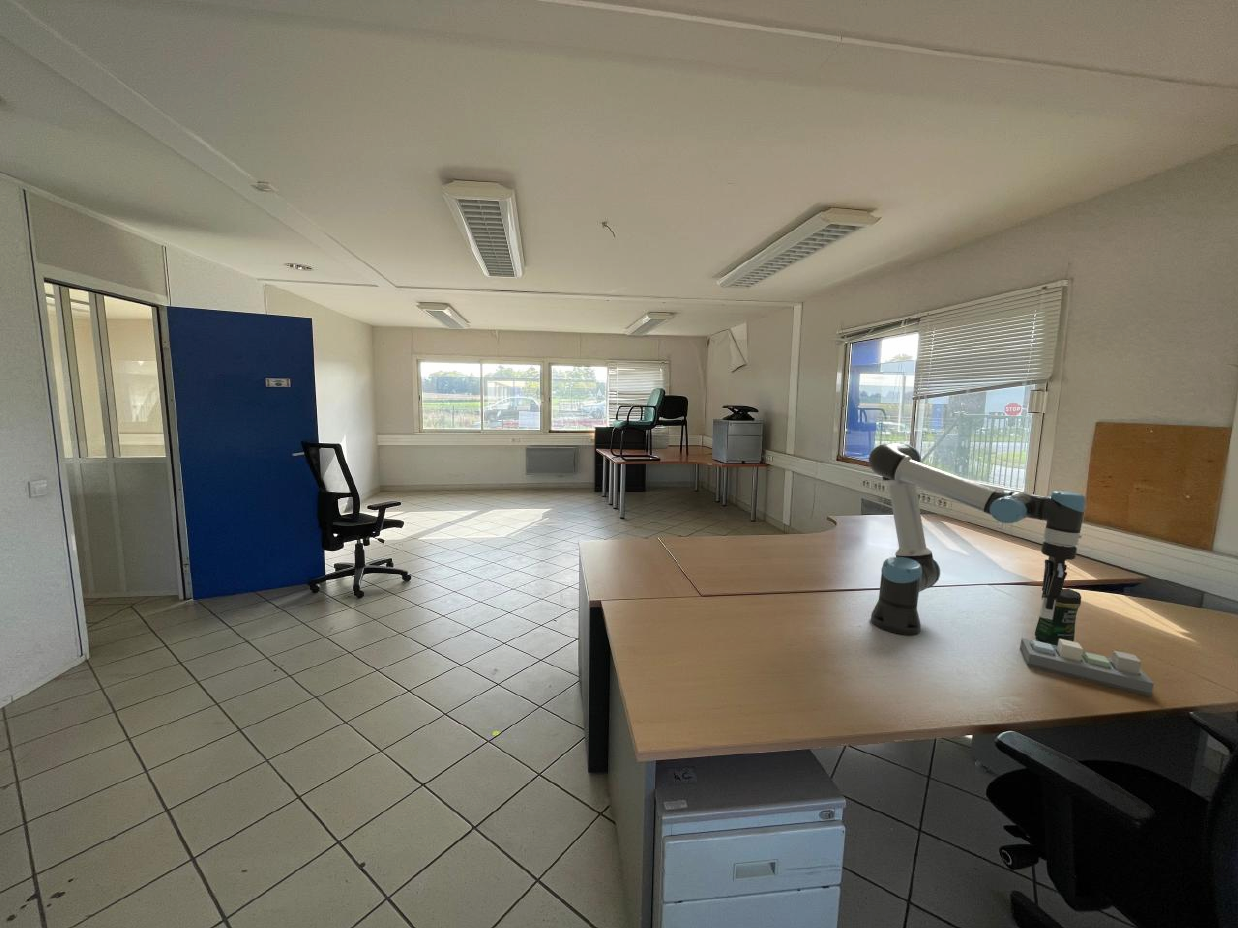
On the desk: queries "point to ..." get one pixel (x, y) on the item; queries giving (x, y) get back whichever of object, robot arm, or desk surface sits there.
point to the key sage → (1096, 659)
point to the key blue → (1042, 647)
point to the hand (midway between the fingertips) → (1045, 617)
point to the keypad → (1086, 670)
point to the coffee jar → (1060, 619)
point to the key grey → (1126, 662)
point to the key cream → (1069, 649)
